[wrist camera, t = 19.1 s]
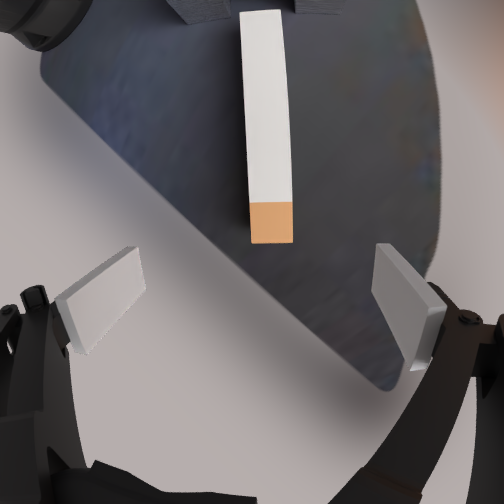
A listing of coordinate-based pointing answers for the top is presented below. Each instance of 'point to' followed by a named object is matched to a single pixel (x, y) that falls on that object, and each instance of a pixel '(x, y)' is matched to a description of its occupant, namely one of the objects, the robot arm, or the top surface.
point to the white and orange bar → (267, 126)
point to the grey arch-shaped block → (218, 7)
